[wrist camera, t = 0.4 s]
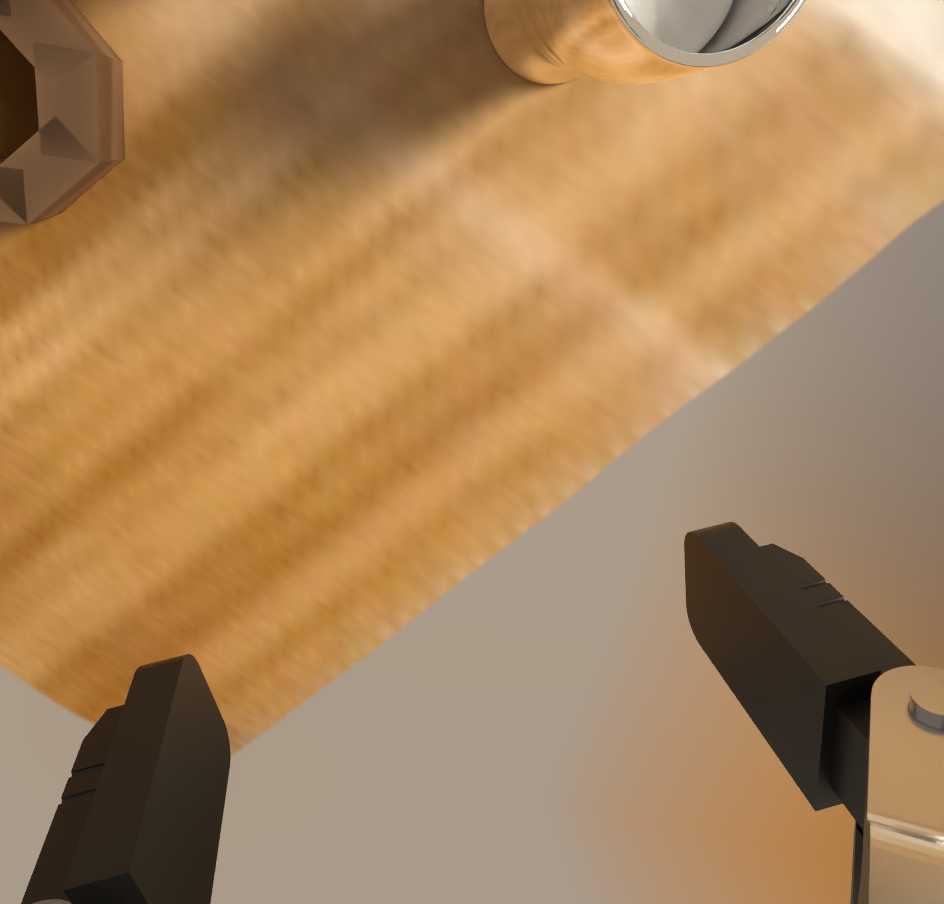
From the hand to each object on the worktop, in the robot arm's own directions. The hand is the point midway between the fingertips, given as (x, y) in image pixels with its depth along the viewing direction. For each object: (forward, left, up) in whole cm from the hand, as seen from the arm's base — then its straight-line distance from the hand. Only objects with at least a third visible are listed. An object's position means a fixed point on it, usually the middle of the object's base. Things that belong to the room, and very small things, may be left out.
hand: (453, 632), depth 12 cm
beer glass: (-13, +7, -27) cm, 30 cm away
